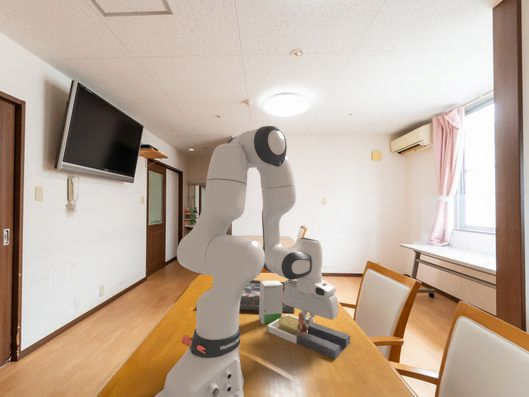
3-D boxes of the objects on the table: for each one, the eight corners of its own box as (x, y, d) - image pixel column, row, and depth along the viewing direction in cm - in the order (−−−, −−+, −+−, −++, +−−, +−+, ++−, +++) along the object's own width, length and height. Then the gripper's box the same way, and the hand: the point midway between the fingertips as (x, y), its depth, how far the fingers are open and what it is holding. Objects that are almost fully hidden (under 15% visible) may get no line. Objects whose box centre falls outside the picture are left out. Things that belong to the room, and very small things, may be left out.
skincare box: (262, 326, 97) (263, 285, 98) (258, 318, 104) (259, 280, 104) (282, 324, 99) (283, 284, 100) (277, 316, 106) (278, 279, 106)
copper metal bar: (300, 336, 88) (301, 315, 88) (296, 335, 89) (297, 314, 89) (307, 332, 91) (307, 311, 91) (303, 330, 92) (303, 310, 92)
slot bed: (335, 362, 76) (335, 350, 76) (295, 345, 85) (295, 334, 85) (350, 345, 85) (350, 335, 85) (312, 331, 94) (313, 322, 94)
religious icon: (218, 282, 151) (218, 277, 151) (293, 287, 147) (294, 281, 147) (193, 311, 111) (193, 304, 111) (295, 318, 107) (296, 311, 107)
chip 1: (287, 333, 91) (287, 322, 92) (278, 329, 94) (278, 318, 94) (293, 329, 95) (293, 318, 95) (284, 325, 97) (285, 315, 97)
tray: (295, 346, 84) (296, 337, 84) (266, 333, 92) (266, 325, 92) (314, 331, 94) (315, 323, 94) (287, 321, 102) (287, 313, 102)
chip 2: (297, 337, 89) (297, 325, 89) (287, 333, 91) (288, 322, 92) (303, 332, 92) (303, 321, 92) (293, 329, 95) (294, 318, 95)
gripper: (280, 279, 93) (279, 317, 93) (332, 293, 80) (331, 337, 79) (289, 276, 98) (289, 312, 97) (340, 288, 85) (339, 330, 84)
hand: (308, 323), depth 88 cm, fingers closed
